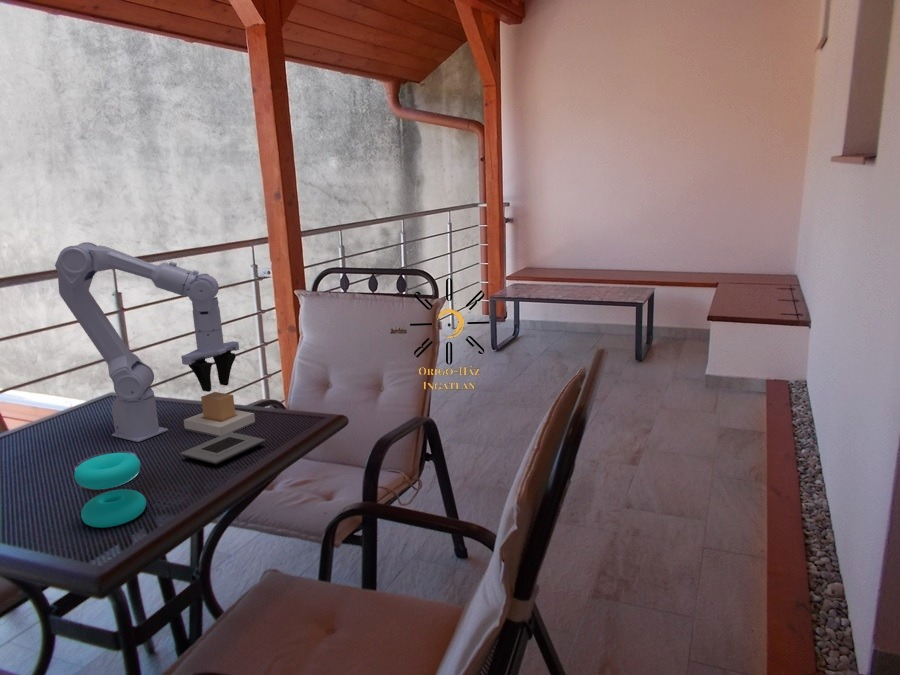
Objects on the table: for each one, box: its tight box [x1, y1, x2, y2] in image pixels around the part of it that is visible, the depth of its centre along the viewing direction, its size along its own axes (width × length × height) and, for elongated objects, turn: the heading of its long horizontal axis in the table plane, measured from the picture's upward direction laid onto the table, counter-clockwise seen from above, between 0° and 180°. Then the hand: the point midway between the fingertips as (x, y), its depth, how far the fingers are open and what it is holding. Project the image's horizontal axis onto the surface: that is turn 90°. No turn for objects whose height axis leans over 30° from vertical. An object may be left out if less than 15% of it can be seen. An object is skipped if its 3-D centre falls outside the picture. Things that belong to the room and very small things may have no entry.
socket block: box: [183, 409, 256, 438], centre depth 159 cm, size 12×10×2 cm
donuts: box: [73, 452, 147, 529], centre depth 116 cm, size 10×10×10 cm
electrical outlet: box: [179, 432, 266, 466], centre depth 143 cm, size 13×10×2 cm
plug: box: [200, 391, 236, 422], centre depth 158 cm, size 6×4×7 cm, turn 60°
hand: (215, 387), depth 157 cm, fingers open, 4 cm apart
